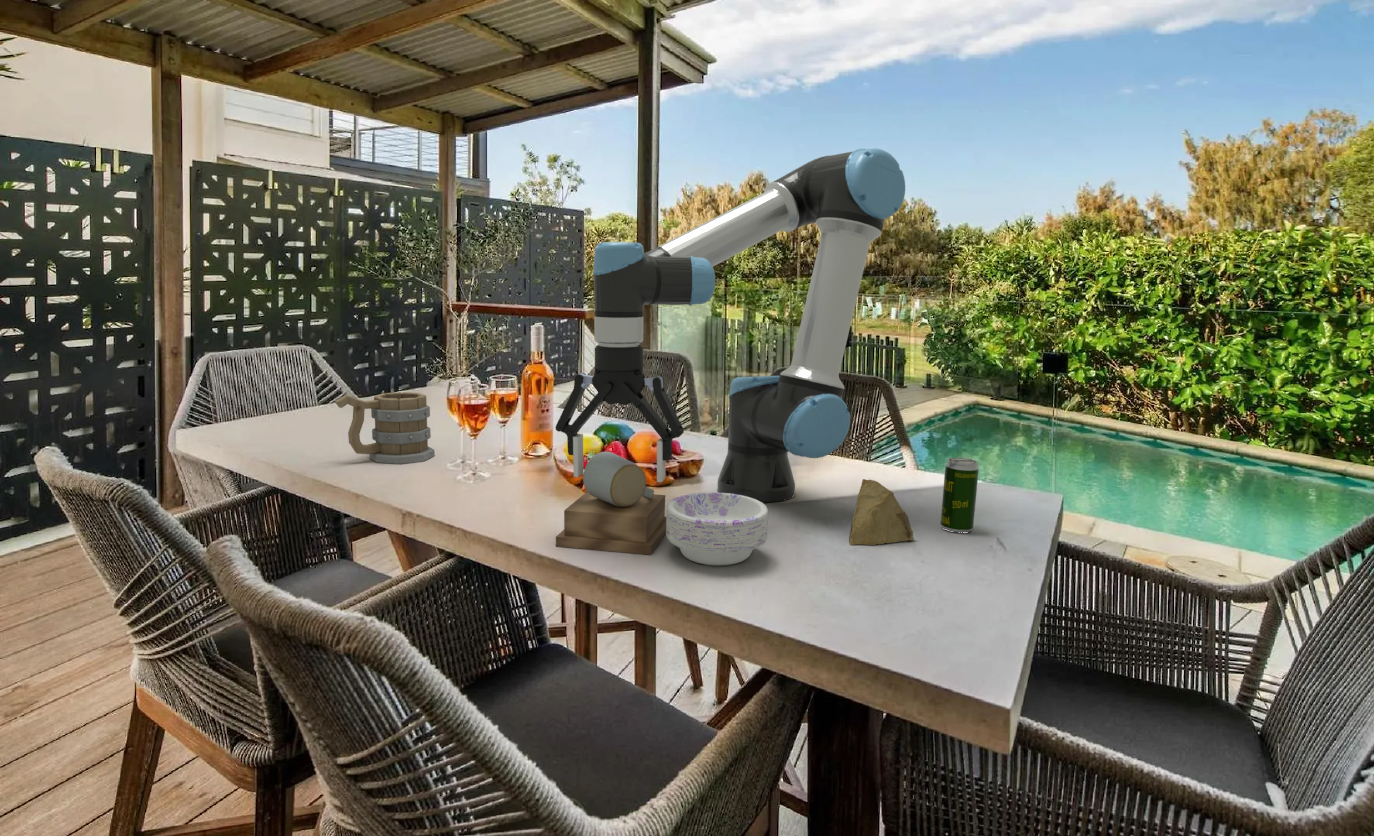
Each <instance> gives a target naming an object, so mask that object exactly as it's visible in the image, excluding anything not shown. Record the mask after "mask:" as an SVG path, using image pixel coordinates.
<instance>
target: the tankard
mask: <svg viewBox="0 0 1374 836" xmlns="http://www.w3.org/2000/svg"><path fill="white" fill-rule="evenodd" d="M335 404H336V406H337V407H338V408H340V409H343V408H344V407H345V406H347V405H349V406H351V407H352V421H351V423H350V426H349V429H348V432H347V434H348V435H347V436H348V437H347V438H348V443H349V445H350V447H351V448H352V449H353V451H354V452H355V454H357V455H369V459H370V460H372V459H373V461H374V462H376V463H377V464H389V465H390V464H391V465H406V464H415V463H423V461H424V462H426V461H428V460H429V458H430V459H431V457H432V458H434V456H435V454H436V453H435V448H433V447H430V446H429V444H428V442H429V439H431V437H432V436H431V435H432V433H431V428H430V427H429V426H428V418H430V417H431V407H430V406H429V405H428V404H427V395H426V394H423V393H420V392H408V391H407V392H406V391H403V392H401V391H400V392H384V393H380V394H377V395H374V396H373V400H363V399H359V398H355V397H353V396H350V395H348V394H344V395H343V396H342V397H340V398H338V399H336V400H335ZM370 409H371V410H370ZM366 410H370V413H371V418H372V419H374V428H372V429H371V434H372V437H371V438H372V439H371V440H373V441H375V442H373V443H369V444H363V443H362V441H361V438H360V434H361V431H362V428H363V425H364V422H365V411H366Z"/></svg>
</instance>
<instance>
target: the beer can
mask: <svg viewBox="0 0 1374 836" xmlns="http://www.w3.org/2000/svg"><path fill="white" fill-rule="evenodd" d="M978 464H979V462H978V461H977V460H976V459H973V458H972V459H971V458H965V457H949V458H947V462H946V464H945V466H944V467H945V468H944V479H943V489H942V490H943V491H942V502H941V503H942V504H941V515H940V526H941V528H944V529H947V530H949V531H953V532H960V533H961V532H962V533H963V532H970V531H971V530H972V531H973V529H974V525H975V523H974V522H975V512H976V503H977V493H978V492H977V490H978V482H979V481H978V479H979V471H980V468H979V465H978ZM972 531H971V532H972ZM971 532H970V533H971ZM960 533H959V534H960Z"/></svg>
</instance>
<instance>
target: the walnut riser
mask: <svg viewBox="0 0 1374 836" xmlns="http://www.w3.org/2000/svg"><path fill="white" fill-rule="evenodd" d="M563 510H564V511H563V513H564V514H563V515H564V516H563V518H564V520H563V523H564V525H563V527H564V528H563V530H562V531H561V532H559V533H558V534H557V535H556V536H555V546H556V547H560V548H561V547H563V548H573V549H581V550H582V549H583V550H584V549H585V550H595V551H605V552H613V553H614V552H615V553H616V552H617V553H626V554H638V555H639V554H640V555H646V556H647V555H649V556H651V555H652V554H653V553H654V552H655V550H656V548H657V547H658V545H659V544H660V542H662V540H663V539H664V537H665V536H666V519H667V518H666V516H665V515H666V494H656V493H655V494H654V493H653V496H652V498H651V499H649V498H646V497H643V496H642V497H641V498H640V500H639V501H638V502H636V503H635V504H634V505H632V506H628V507H619V506H615V505H613V504H610V503H608V502H605V501H603V500H601V499H598V498H596V497H593V496H592V495H590V494H589V493H588V492H587V491H586V492H585V493H583V494H582V495H581V496H580V497H578V498H577V499H576V500H575V501H574V502H573V503H571V504H570V505H569V506H568V507H566V508H565V509H563Z"/></svg>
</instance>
